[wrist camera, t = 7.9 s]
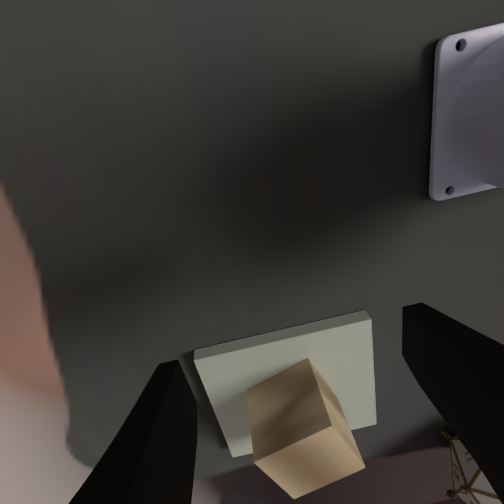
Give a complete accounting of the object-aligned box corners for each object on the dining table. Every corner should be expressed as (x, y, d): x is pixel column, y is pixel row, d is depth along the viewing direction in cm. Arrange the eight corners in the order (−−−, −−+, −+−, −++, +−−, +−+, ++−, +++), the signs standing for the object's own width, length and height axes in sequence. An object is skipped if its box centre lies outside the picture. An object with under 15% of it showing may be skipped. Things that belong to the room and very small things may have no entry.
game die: (434, 388, 32) (501, 426, 22) (524, 421, 30) (639, 476, 20) (411, 480, 30) (471, 563, 21) (504, 518, 29) (616, 626, 19)
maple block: (308, 357, 22) (332, 425, 17) (337, 398, 24) (365, 467, 19) (246, 389, 22) (253, 462, 18) (280, 425, 24) (294, 499, 20)
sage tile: (364, 310, 21) (371, 319, 21) (371, 413, 26) (376, 424, 25) (194, 349, 22) (193, 360, 21) (232, 445, 26) (232, 457, 26)
